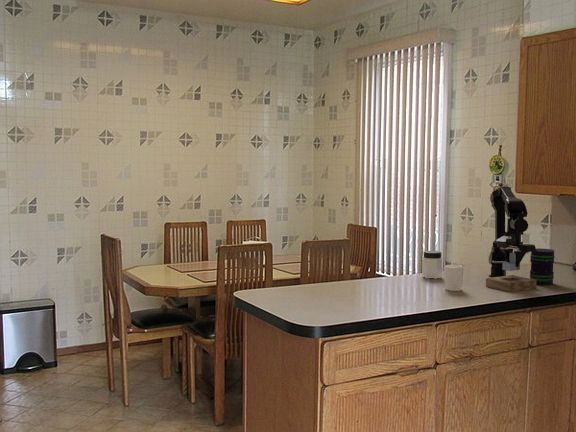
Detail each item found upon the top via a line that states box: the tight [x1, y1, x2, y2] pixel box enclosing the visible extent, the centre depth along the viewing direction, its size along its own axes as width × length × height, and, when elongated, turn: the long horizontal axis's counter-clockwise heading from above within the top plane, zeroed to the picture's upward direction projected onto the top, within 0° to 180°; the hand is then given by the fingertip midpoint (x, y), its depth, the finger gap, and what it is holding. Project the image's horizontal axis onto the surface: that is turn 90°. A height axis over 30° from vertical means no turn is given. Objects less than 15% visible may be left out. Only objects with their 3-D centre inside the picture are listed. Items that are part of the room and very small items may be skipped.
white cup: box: [443, 264, 465, 292], centre depth 263 cm, size 8×8×10 cm
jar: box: [421, 250, 443, 280], centre depth 291 cm, size 9×8×12 cm
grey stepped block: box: [502, 251, 521, 272], centre depth 268 cm, size 6×4×7 cm, turn 118°
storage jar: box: [529, 247, 555, 287], centre depth 277 cm, size 10×10×15 cm
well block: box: [485, 274, 537, 293], centre depth 268 cm, size 16×13×4 cm
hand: (512, 265), depth 268 cm, fingers closed on grey stepped block, 4 cm apart
